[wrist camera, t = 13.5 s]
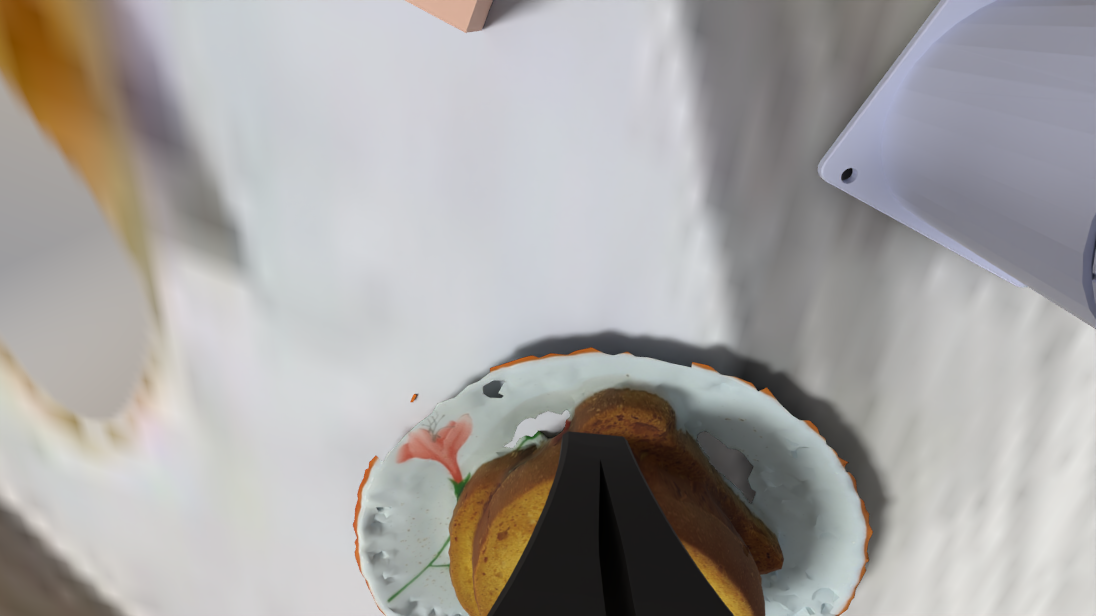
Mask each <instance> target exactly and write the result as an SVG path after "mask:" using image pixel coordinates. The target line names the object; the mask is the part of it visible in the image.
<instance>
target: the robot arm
mask: <svg viewBox="0 0 1096 616" xmlns="http://www.w3.org/2000/svg"><path fill="white" fill-rule="evenodd" d="M849 168H852V170H853V173H852V175H851V176H850V177H849V178H848V179H846V180H841V175H842V173H843V172H844V171H845V170H846V169H849ZM818 173H819V176H820V177H821V178H822V179H823V180H825V181H826V182H828V183H830V184H831V185H833V186H835V187H837V188H839V189H840V190H842V191H844V192H846V193H848V194H850V195H851V196H853V197H855V198H857V199H859V200H860V201H862V202H864V203H866V204H868V205H870V206H871V207H873V208H875V209H877V210H879V211H881V212H882V213H884V214H886V215H888V216H890V217H891V218H893V219H895V220H897V221H899V222H901V223H902V224H904V225H906V226H908V227H910V228H911V229H913V230H915V231H917V232H919V233H921V234H922V235H924V236H926V237H928V238H930V239H931V240H933V241H935V242H937V243H939V244H941V245H942V246H944V247H946V248H948V249H950V250H951V251H953V252H955V253H957V254H959V255H961V256H962V257H964V258H966V259H968V260H970V261H971V262H973V263H975V264H977V265H979V266H981V267H982V268H984V269H986V270H988V271H990V272H991V273H993V274H995V275H997V276H999V277H1001V278H1002V279H1004V280H1006V281H1008V282H1010V283H1011V284H1013V285H1015V286H1018V287H1029V288H1031V289H1032V290H1034V291H1036V292H1037V293H1039V294H1040V295H1042V296H1044V297H1045V298H1047V299H1048V300H1050V301H1052V302H1053V303H1055V304H1056V305H1058V306H1060V307H1061V308H1063V309H1064V310H1066V311H1068V312H1069V313H1071V314H1072V315H1074V316H1076V317H1077V318H1079V319H1080V320H1082V321H1084V322H1085V323H1087V324H1088V325H1090V326H1092V327H1093V328H1095V329H1096V0H941V1H940V2H939V3H938V5H937V6H936V7H935V9H934V10H933V11H932V13H931V14H930V15H929V17H928V18H927V19H926V21H925V22H924V23H923V25H922V26H921V27H920V29H919V30H918V31H917V33H916V34H915V35H914V37H913V38H912V39H911V41H910V42H909V43H908V45H907V46H906V47H905V49H904V50H903V51H902V53H901V54H900V55H899V57H898V58H897V59H896V61H895V62H894V63H893V65H892V66H891V67H890V69H889V70H888V71H887V73H886V74H885V75H884V77H883V78H882V79H881V81H880V82H879V83H878V85H877V86H876V87H875V89H874V90H873V91H872V93H871V94H870V95H869V97H868V98H867V99H866V101H865V102H864V103H863V105H862V106H861V107H860V109H859V110H858V111H857V113H856V114H855V115H854V117H853V118H852V119H851V121H850V122H849V123H848V125H847V126H846V127H845V129H844V130H843V131H842V133H841V134H840V135H839V137H838V138H837V139H836V141H835V142H834V143H833V145H832V146H831V147H830V149H829V150H828V151H827V153H826V154H825V155H824V157H823V158H822V159H821V161H820V163H819V165H818ZM487 616H734V615H733V613H732V612H731V611H730V610H729V608H728V607H727V606H726V605H725V603H724V602H723V601H722V599H721V598H720V597H719V595H718V594H717V593H716V591H715V590H714V589H713V587H712V586H711V585H710V583H709V582H708V581H707V579H706V578H705V576H704V575H703V574H702V572H701V571H700V569H699V568H698V566H697V565H696V563H695V562H694V561H693V559H692V558H691V556H690V555H689V553H688V551H687V550H686V548H685V547H684V545H683V544H682V542H681V541H680V539H679V538H678V536H677V534H676V533H675V531H674V529H673V528H672V526H671V525H670V523H669V521H668V520H667V518H666V516H665V514H664V513H663V511H662V509H661V507H660V506H659V504H658V502H657V500H656V499H655V497H654V495H653V493H652V491H651V489H650V488H649V486H648V484H647V482H646V480H645V478H644V476H643V474H642V472H641V470H640V468H639V466H638V464H637V462H636V459H635V457H634V455H633V453H632V451H631V448H630V446H629V444H628V441H627V440H626V439H625V438H624V437H623V436H612V435H602V434H591V433H581V432H570V431H568V432H566V433H565V434H563V435H562V442H561V449H560V457H559V464H558V468H557V471H556V475H555V478H554V481H553V484H552V486H551V489H550V492H549V495H548V498H547V500H546V503H545V506H544V508H543V510H542V513H541V515H540V517H539V519H538V522H537V524H536V526H535V528H534V531H533V533H532V535H531V537H530V539H529V541H528V544H527V546H526V548H525V549H524V551H523V553H522V555H521V557H520V559H519V561H518V563H517V565H516V567H515V569H514V570H513V572H512V574H511V576H510V578H509V579H508V581H507V583H506V585H505V586H504V588H503V590H502V591H501V593H500V595H499V596H498V598H497V600H496V601H495V603H494V605H493V606H492V608H491V610H490V611H489V613H488V614H487Z"/></svg>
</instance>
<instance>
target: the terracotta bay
mask: <svg viewBox="0 0 1096 616" xmlns="http://www.w3.org/2000/svg"><path fill="white" fill-rule="evenodd" d="M405 1H407V2H409V3H411V4H413V5H415V6H417V7H418V8H420V9H422V10H424V11H426V12H428V13H430V14H432V15H433V16H435V17H437V18H439V19H441V20H443V21H445V22H447V23H448V24H450V25H452V26H454V27H456V28H458V29H460V30H462V31H463V32H465V33H467V32H474V31H480V30H482V28H483V26H484V23H485V20H486V18H487V15H488V12H489V10H490V7H491V4H492V1H493V0H405Z"/></svg>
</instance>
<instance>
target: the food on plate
mask: <svg viewBox="0 0 1096 616" xmlns="http://www.w3.org/2000/svg"><path fill="white" fill-rule="evenodd" d="M493 380H504V381H505V382H504V384H503V386H502V387H501V389H500V391H499V392H498V393H499V394H501V395H504V396H503V397H502V398H489V397H488V396H486V395H485V394H483V386H484V385H486V384H488V383H489V382H491V381H493ZM416 396H417V395H415V394H414V395H413V397H412V399H411V402H413V401H414V399H415V397H416ZM565 410H568V411H569V413H570V417H569V418H568V419H567V420H566V425H565V428H564V429H563V431H562V432H561V433H560V434H558V435H557V436H555V437H554V438H547V437H545V436H544V434H543V433H542V432H540V431H538V432H537V433H536V434H535V435H534V436H533V437H530V436H524V437H522V438H520V439H519V440H518V442H517V443H516V445H515V446H514V448H508V447H503V446H505V445H506V444H508V443H509V442H511V441H512V439H513V437H514V434H515V431H516V429H517V426H518V425H519V424H520V423H521V422H522V421H523V420H525V419H528V418H534V419H536V418H537V416H538V415H540V414H542V413H544V412H547V411H550V412H553V413H557V414H563V412H564V411H565ZM568 431H570V432H581V433H591V434H602V435H612V436H623V437H624V438H625V439H626V440H627V441H628V444H629V446H630V448H631V451H632V453H633V455H634V457H635V459H636V462H637V464H638V466H639V468H640V470H641V472H642V474H643V476H644V478H645V480H646V482H647V484H648V486H649V488H650V489H651V491H652V493H653V495H654V497H655V499H656V500H657V502H658V504H659V506H660V507H661V509H662V511H663V513H664V514H665V516H666V518H667V520H668V521H669V523H670V525H671V526H672V528H673V529H674V531H675V533H676V534H677V536H678V538H679V539H680V541H681V542H682V544H683V545H684V547H685V548H686V550H687V551H688V553H689V555H690V556H691V558H692V559H693V561H694V562H695V563H696V565H697V566H698V568H699V569H700V571H701V572H702V574H703V575H704V576H705V578H706V579H707V581H708V582H709V583H710V585H711V586H712V587H713V589H714V590H715V591H716V593H717V594H718V595H719V597H720V598H721V599H722V601H723V602H724V603H725V605H726V606H727V607H728V608H729V610H730V611H731V612H732V613H733V615H734V616H839V615H840V614H842V613H843V612H845V611H846V610H847V609H848V607H849V605H850V602H851V600H852V599H853V598H854V596H855V590H856V588H857V586H858V585H859V583H860V581H861V579H862V577H863V575H864V573H865V571H866V569H865V564H866V562H868V561H869V557H868V552H867V547H868V541H869V539H870V537H871V535H872V533H873V531H872V529H871V527H870V525H869V513H868V512H867V510H866V508H865V504H864V501H863V500H862V499H861V498H859V496H858V492H857V487H856V480H855V478H854V477H853V476H852V475H851V473H850V472H846V470H845V465H846V464H847V463H849V462H847V461H845V460H843V459H841V458H839V457H838V454H837V453H836V452H835V450H834V449H832V448H831V447H829V446H828V445H826V439H825V438H824V437H822V436H821V435H820V434H819V431H818V428H817V427H816V426H815V425H814V424H813V423H812V422H811V421H808V420H798V419H797V418H795V417H794V416H792V415H791V414H790V413H789V412H788V411H787V410H786V409H785V408H784V407H783V406H782V405H781V404H780V403H779V402H778V401H777V399H776V398H775V397H774V396H773V395H772V393H771V392H770V391H769V390H768V388H765V389H763V390H760V391H757V389H756V388H755V387H754V385H753V384H752V383H750V382H747V381H745V380H742V379H740V378H737V377H733V376H726V375H721V374H719V373H718V372H717V371H716V370H714V369H713V368H712V367H710V366H708V365H704V364H699V363H694V362H692V367H686V366H682V365H677V364H672V363H668V362H664V361H660V360H656V359H652V358H648V357H635V356H634V355H632V354H630V353H629V352H624V353H621V354H617V355H609V354H605V353H602V352H600V351H598V350H596V349H594V348H592V347H591V348H587V349H582V350H577V351H574V352H572V353H570V354H568V355H563V354H553V353H550V354H548V355H545V356H543V357H541V358H538V357H535V356H528V357H524V358H520V359H517V360H514V361H511V362H508V363H505V364H502V365H499V366H495V367H492V368H490V373H489V374H488V375H486V376H485V377H484V378H482V379H481V380H480V381H478V382H476V383H473V384H471V385H468V386H467V387H466V388H465V389H464V390H463V391H462V392H461V393H460V394H459V395H457V396H456V397H455V398H452V399H449V400H446V401H443V402H440V403H438V404H437V405H436V407H435V409H434V411H433V413H432V414H431V415H429V416H428V417H426V418H425V419H424V420H422V421H421V422H419V423H418V424H417V425H416V426H415V427H414V428H413V429H412V430H411V431H410V432H409V433H407V434H406V435H405V436H404V437H403V438H402V440H401V441H400V442H399V443H398V444H397V445H396V447H395V448H394V449H393V450H392V451H390V452H388V454H387V456H386V458H385V460H384V461H383V462H382V461H381V460H380V459H379V458H378V457H377V456H375V457H374V458H373V459H372V460H371V461H370V462H369V469H366V470H365V474H364V478H363V480H362V482H361V484H360V487H359V490H358V494H357V495H358V501H357V504H356V508H355V520H354V523H353V527H354V530H355V533H356V536H357V539H356V541H355V545H356V550H355V557H356V560H357V563H358V566H359V569H360V572H361V573H362V575H363V577H364V578H365V580H366V583H367V586H368V588H369V590H370V592H371V594H372V596H373V598H374V600H375V602H376V604H377V607H378V608H379V610H380V611H381V612H382V613H383V614H384V615H385V616H487V614H488V613H489V611H490V610H491V608H492V606H493V605H494V603H495V601H496V600H497V598H498V596H499V595H500V593H501V591H502V590H503V588H504V586H505V585H506V583H507V581H508V579H509V578H510V576H511V574H512V572H513V570H514V569H515V567H516V565H517V563H518V561H519V559H520V557H521V555H522V553H523V551H524V549H525V548H526V546H527V544H528V541H529V539H530V537H531V535H532V533H533V531H534V528H535V526H536V524H537V522H538V519H539V517H540V515H541V513H542V510H543V508H544V506H545V503H546V500H547V498H548V495H549V492H550V489H551V486H552V484H553V481H554V478H555V475H556V471H557V468H558V464H559V457H560V449H561V442H562V435H563V434H565V433H566V432H568ZM703 431H706V432H709V433H710V434H711V435H712V436H714V437H715V438H717V439H718V440H719V441H721V442H722V443H723V444H725V445H726V447H727V448H730V449H737V450H739V451H740V452H742V453H743V454H744V455H745V456H746V458H747V459H748V461H749V462H750V463H751V464H752V466H753V467H754V468H753V470H752V471H751V474H750V476H749V478H748V481H749V483H750V486H751V489H753V490H754V491H756V494H755V497H754V499H753V502H752V503H751V504H749V502H748V500H747V499H746V498H745V497H744V496H743V494H742V492H741V491H740V489H738V488H737V487H736V486H735V485H734V484H732V483H731V482H730V481H729V480H727V479H726V478H725V476H724V475H722V474H721V473H719V472H718V471H717V470H716V469H715V468H714V466H712V465H711V464H710V463H709V456H707V455H706V454H705V452H704V451H703V450H702V449H701V447H700V446H699V444H698V443H697V435H698V433H700V432H703Z"/></svg>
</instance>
